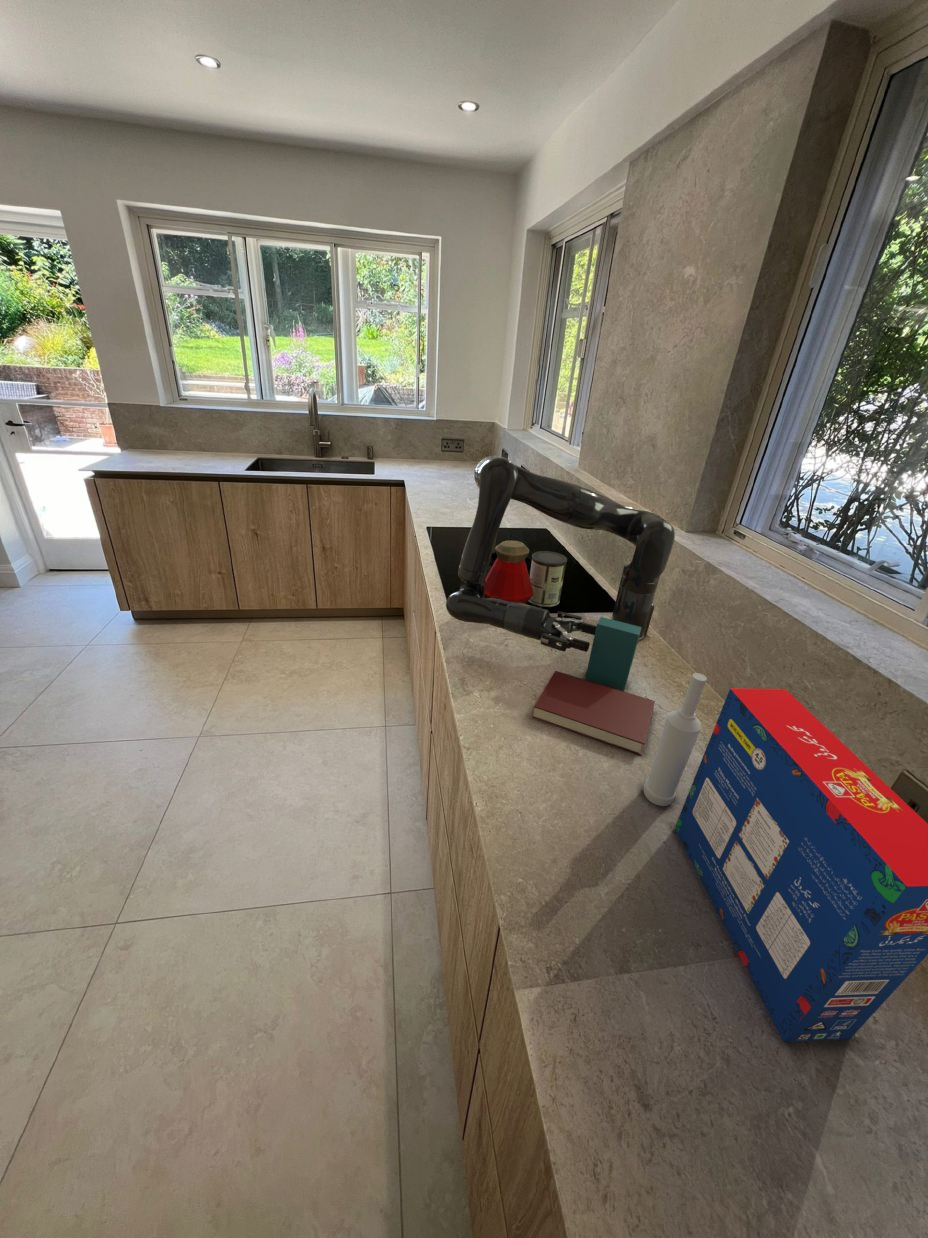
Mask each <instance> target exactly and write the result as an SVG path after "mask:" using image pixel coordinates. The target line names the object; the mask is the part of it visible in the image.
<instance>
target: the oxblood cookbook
mask: <svg viewBox="0 0 928 1238" xmlns="http://www.w3.org/2000/svg"><path fill="white" fill-rule="evenodd" d="M655 703H656V700H654V699H650V698H646V697H643V696H640V695H637V694H633V693H630V692H628V691H625V690H624V691H621V690H617V689H614V688H611V687H607V686H604V685H601V684H598V683H594V682H591V681H588V680H585V678H582V677H578V676H574V675H571V674H568V673H564V672H561V671H558V670H554V671H553V673H552V675H551V677H550V679H549V680H548V682H547V684H546V685H545V687H544V689H543V690H542V692H541V694H540V696H539V697H538V698H537V701H536V702H535V704H534V706H533V708H534V709H533V715H532V719H535V720H538V721H541V722H543V723H546V724H549V725H553V726H555V727H558V728H560V729H563V730H567V731H568V732H569V731H570V732H573V733H575V734H578V735H581V736H584V737H587V738H590V739H593V740H596V741H599V742H601V743H604V744H606V745H610V746H613V747H615V748H619V749H622V750H624V751H627V752H630V753H633V754H635V755H638V756H642V755H643V751H644V747H645V745H646V742H647V738H648V733H649V729H650V725H651V720H652V716H653V711H654V708H655Z"/></svg>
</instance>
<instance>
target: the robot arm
mask: <svg viewBox="0 0 928 1238" xmlns="http://www.w3.org/2000/svg"><path fill="white" fill-rule="evenodd" d="M473 476H474V477H473V478H474V482H475V485H476V486H477V488H478V491H479V492H478V501H477V508H476V513H475V517H474V519H473V522H472V526H471V528H470V531H469V533H468V535H467V538H466V540H465V543H464V546H463V549H462V554H461V557H460V562H459V566H458V572H457V574H458V577H459V579H460V581H461V582H460V588H459V590H457V591H455V592H453V593H451V594H450V595H448V598H447V600H446V601H445V608H446V612H447V613H448V614H449V615H450V616H451V618H453V619H456V620H458V621H461V622H465V623H472V624H478V625H479V624H480V625H481V624H482V625H488V626H491V627H495V628H499V629H501V630H505V631H508V632H510V633H513V634H515V635H519V636H522V637H526V638H529V639H531V640H532V639H533V640H535V641H540V645H542V646H544V647H548V648H551V649H554V650H557V651H559V652H566V651H567V649H568V650H569V649H570V650H571V649H574V650H578V651H582V652H588V651H589V649H590V646H591V643H590V641H586V640H583V639H580V638H576V637H572V636H571V635H570V634H572V633H574V632H581V633H583V634H584V633H585V634H587V635H592V636H595V631H596V626H597V625H595V624H591V623H587V622H584V621H583V616H581V615H576V614H572V613H567V612H564V611H557V614H556V616H551V615H550V611H549V610H548V609H545V608H543V607H540V606H536V605H531V604H528V603H526V604H523V603H517V602H512V601H508V600H504V599H500V598H487V599H486V598H484V593H485V578H486V577H487V575H488V571H489V567H490V563H491V561H492V555H493V552H494V549H495V548H494V547H495V544H496V540H497V537H498V534H499V530H500V527H501V524H502V521H503V518H504V516H505V513H506V510H507V508H508V506H509V503H510V501H511V500H512V501H516V502H520V503H522V504H525V505H527V506H529V507H531V508H533V509H535V510H536V511H539V512H540V513H542V514H544V515H546V516H547V517H549V518H552V519H554V520H556V521H559V522H561V523H564V524H566V525H569V526H571V527H575V528H579V529H583V530H591V531H604V532H608V533H611V534H613V535H615V536H618V537H621V538H622V539H624V540H626V541H628V542H629V543H631V544H632V545H633V546H634V547H635V548H634V552H633V555H632V558H631V560H628V561H626V562H625V563H624V565H623V569H622V573H621V577H620V581H619V582H620V583H619V586H618V590H617V594H616V597H615V603H614V607H613V612H612V616H611V618H610V619H611V620H615V621H619V622H623V623H627V624H631V625H635V626H639V627H642V628H641V632H640V636H639V639H638V642H640V641H642V640H644V637H647V635H648V631H649V627H650V624H651V620H652V616H653V613H654V610H655V605H654V604H653V602H654V600H655V595H656V592H657V589H658V586H659V585H658V584H659V581H660V578H661V576H662V574H663V573H664V572H665V570H666V568H667V566H668V562H669V559H670V556H671V553H672V550H673V547H674V545H675V540H676V532H675V527H674V526H673V524H672V523H670V522H669V521H667V520H666V519H665V518H663V517H661V516H660V515H659V514H657V513H655V512H652V511H648V510H643V509H638V508H634V507H631V506H628V505H624V504H621V503H618V502H617V501H614V500H612V499H610V498H608V497H607V496H605V495H603V494H601V493H598V492H596V491H594V490H591V489H589V488H586V487H583V486H581V485H578V484H575V483H572V482H569V481H565V480H561V479H558V478H554V477H550V476H545V475H542V474H537V473H534V472H531V471H530V470H527V469H525V468H523V467H521V466H518V465H516V464H515V463H513V461H511V460H510V459H508V458H505V457H503V456H501V455H493V454H492V455H489V456H486V457H484V458H483V459H481V460H480V461H478V462H477V464H476V466H475V468H474V473H473Z"/></svg>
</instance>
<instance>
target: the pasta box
mask: <svg viewBox="0 0 928 1238" xmlns="http://www.w3.org/2000/svg"><path fill="white" fill-rule="evenodd" d="M714 725H715V726H714V728H713V730H712V733H711V734H710V735H711V736H710V738H709V741H708V743H707V746H706V747H705V751H704V753H703V755H702V758H701V761H700V763H699V766H698V768H697V771H696V773H695V776H694V778H693V781H692V784H691V786H690V788H689V791H688V793H687V795H686V798H685V801H684V804H683V806H682V808H681V811H680V813H679V816H678V818H677V821H676V824H675V827H674V831H675V833H676V835H677V837H678V839H679V841H680V843H681V845H682V847H683V848H684V851H685V852H686V855H687V856H688V859H689V860H690V863H691V864H692V866H693V868H694V870H695V872H696V875H697V876H698V878H699V880H700V883H701V884H702V886H703V888H704V890H705V891H706V893H707V896H708V897H709V899H710V902H711V903H712V905H713V908H714V909H715V911H716V913H717V915H718V917H719V919H720V922H721V923H722V925H723V927H724V929H725V931H726V932H727V934H728V937H729V938H730V940H731V943H732V945H733V946H734V948H735V950H736V952H737V954H738V956H739V958H740V960H741V962H742V963H743V965H744V968H745V970H746V972H747V974H748V975H749V977H750V979H751V981H752V984H753V985H754V987H755V989H756V991H757V993H758V995H759V997H760V999H761V1001H762V1003H763V1005H764V1007H765V1008H766V1011H767V1012H768V1014H769V1016H770V1018H771V1020H772V1022H773V1024H774V1026H775V1028H776V1031H777V1032H778V1034H779V1036H780V1038H781V1040H782V1042H783V1043H792V1042H795V1043H796V1042H814V1041H833V1040H834V1041H835V1040H851V1039H852V1038H853V1037H854V1035H855V1034H856V1033H858V1031H859V1030H860V1029H861V1028H862V1027H863V1026H864V1025H865V1023H866V1022H868V1021H869V1019H870V1018H871V1017H872V1016H873V1015H874V1014H875V1013H876V1012H877V1011H878V1010H879V1008H880V1007H881V1006H882V1005H883V1004H884V1003H885V1002H886V1001H887V1000H888V999H889V997H890V996H892V994H893V993H894V992H895V991H896V990H897V989H898V988H899V986H900V985H901V984H903V982H904V981H905V980H906V979H907V978H908V977H909V976H910V974H911V973H912V972H913V971H914V970H915V969H916V968H917V967H918V966H919V965H920V964H921V963H922V962H923V960H924V959H925V958H927V956H928V822H927V821H925V819H923V818H922V817H921V816H920V814H918V812H916V811H915V810H914V809H913V808H912V807H910V806H909V805H908V804H907V803H906V802H905V801H904V799H902V798H901V797H900V796H899V795H898V794H897V793H896V792H895V791H894V790H893V789H891V787H890V786H889V785H888V784H886V783H885V782H884V781H883V780H882V779H881V778H880V777H879V776H878V775H877V774H876V773H875V772H874V771H872V769H870V767H869V766H868V765H866V763H864V762H863V760H861V759H860V757H858V756H857V755H856V754H855V753H854V752H853V751H852V750H851V749H849V748H848V747H847V746H846V745H845V744H844V742H842V740H840V739H839V738H838V737H837V736H836V735H834V734H833V732H831V730H829V729H828V728H827V727H826V726H825V725H824V724H823V723H822V722H821V721H820V720H819V719H818V718H817V716H815V715H814V714H813V713H812V712H810V711H809V710H808V709H807V707H805V706H804V704H802V702H800V701H799V700H798V699H797V698H796V697H795V696H794V695H793V694H792V693H790V691H788V690H787V689H786V688H783V689H781V688H734V687H733V688H731V687H730V688H729V690H728V693H727V695H726V697H725V700H724V703H723V706H722V708H721V710H720V713H719V716H718V718H717V720H716V723H715V724H714Z"/></svg>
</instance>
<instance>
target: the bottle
mask: <svg viewBox="0 0 928 1238" xmlns="http://www.w3.org/2000/svg"><path fill="white" fill-rule="evenodd" d="M707 681H708V678H707V676H706V675H704V674H703V673H699V672H694V673H692V676H691V678H690V681H689V684H688V688H687V691H686V694H685V697H684V699H683V702H682V705H681V707H679V708H678V709H677V710H672V711H670V712H668V713H667V715H666V717H665V722H664V725H663V728H662V732H661V735H660V739H659V740H658V741H659V742H658V745H657V749H656V751H655V755H654V758H653V762H652V765H651V769H650V771H649V775H648V778H646V780H645V782H644V786H643V793H644V796H645V798H646V799H647V800H648V801H649V802H650V803H652V804H654V805H656V806H660V807H667V806H670V805H671V804H672V803H673V802H674V801H675V798H676V795H677V791H676V790H677V788H678V786H679V784H680V781H681V778H682V777H683V773H684V771H685V768H686V766H687V764H688V762H689V759H690V757H691V754H692V752H693V749H694V747H695V744H696V743H697V741H698V737H699V734H700V732H701V730H702V726H703V725H702V724H701V721H700V720H699V718H698V717H697V714H696V710H697V706H698V704H699V702H700V698H701V696H702V693H703V691H704V689H705V686H706V683H707Z"/></svg>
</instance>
